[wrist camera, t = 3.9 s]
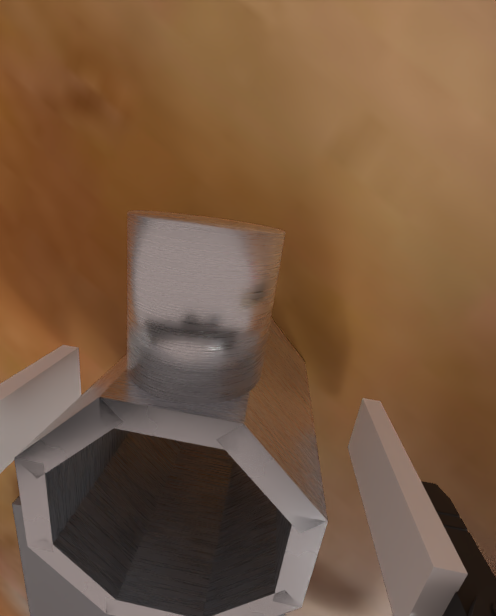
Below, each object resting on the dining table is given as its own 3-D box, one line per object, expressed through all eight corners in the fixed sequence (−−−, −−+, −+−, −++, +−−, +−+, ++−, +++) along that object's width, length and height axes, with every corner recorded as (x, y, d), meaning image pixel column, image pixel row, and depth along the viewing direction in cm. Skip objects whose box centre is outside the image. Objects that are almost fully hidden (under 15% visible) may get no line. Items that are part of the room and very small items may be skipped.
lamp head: (285, 452, 17) (286, 656, 9) (144, 425, 17) (35, 597, 10) (334, 229, 13) (408, 258, 5) (150, 203, 13) (-26, 195, 6)
